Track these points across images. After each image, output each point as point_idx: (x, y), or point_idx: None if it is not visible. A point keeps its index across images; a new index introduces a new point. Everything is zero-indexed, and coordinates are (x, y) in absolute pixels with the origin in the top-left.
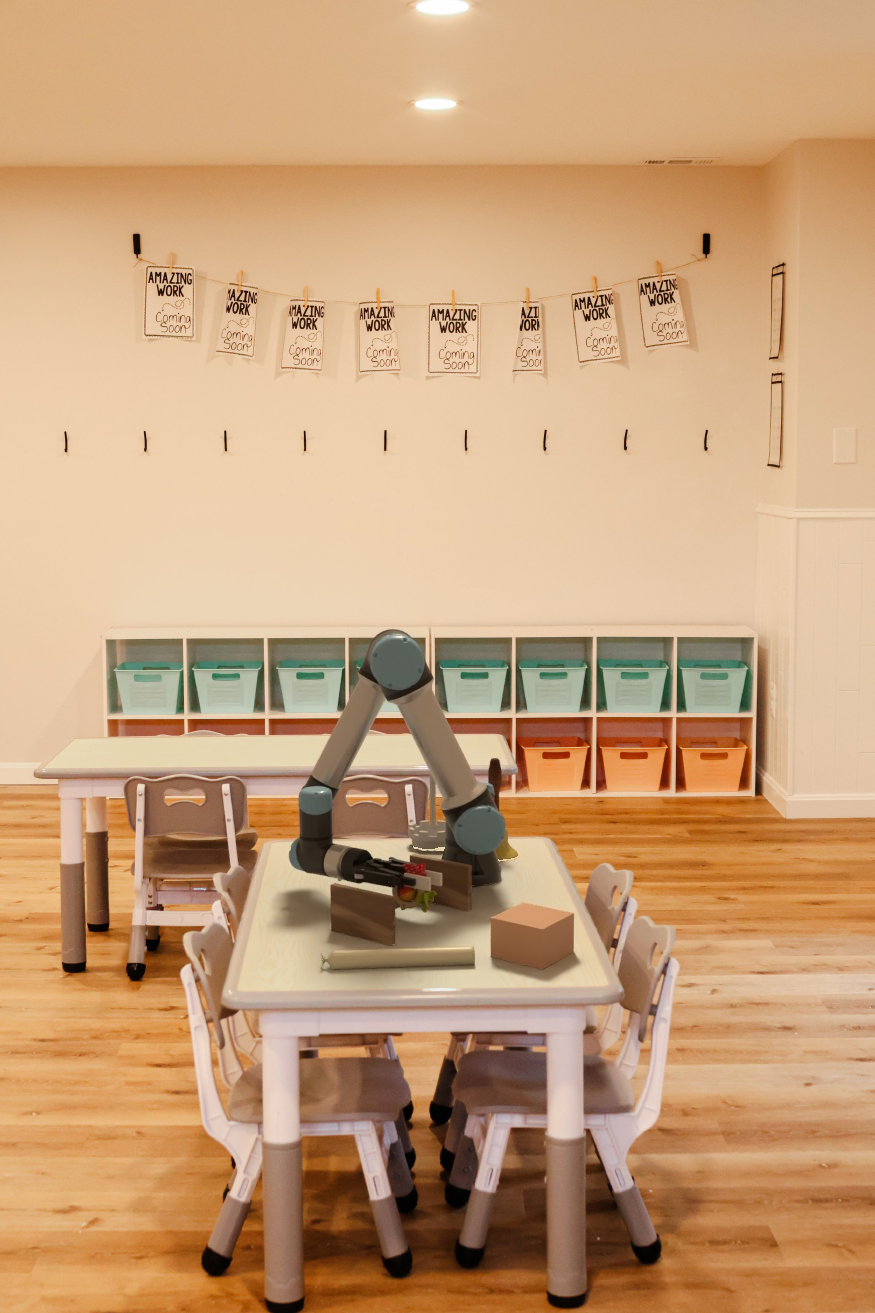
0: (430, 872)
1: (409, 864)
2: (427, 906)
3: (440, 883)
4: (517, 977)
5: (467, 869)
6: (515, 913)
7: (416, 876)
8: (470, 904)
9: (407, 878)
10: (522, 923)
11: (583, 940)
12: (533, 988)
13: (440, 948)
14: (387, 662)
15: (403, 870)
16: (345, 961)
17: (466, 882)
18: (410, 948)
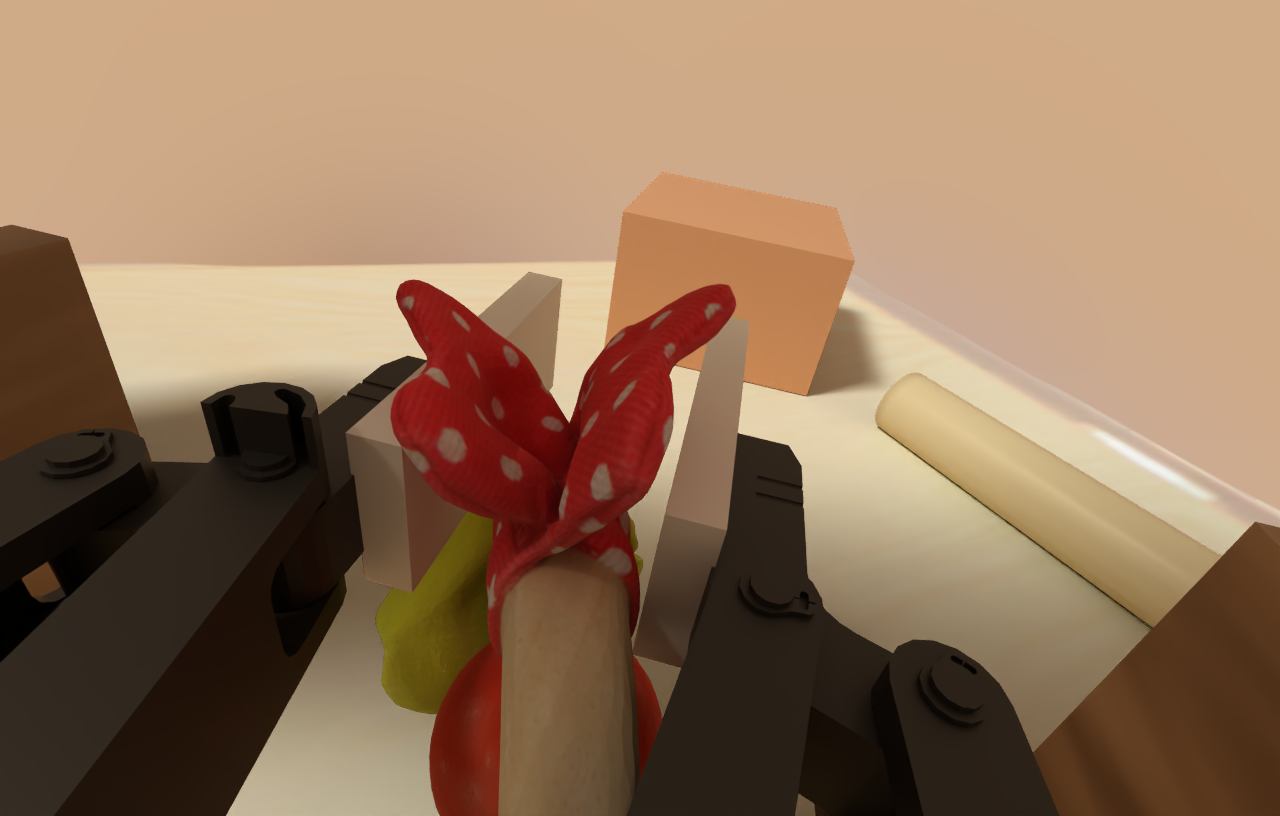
0: (518, 328)
1: (677, 347)
2: (642, 562)
3: (552, 361)
4: (888, 346)
5: (73, 263)
6: (756, 226)
7: (739, 399)
8: None
9: (780, 502)
10: (831, 223)
11: (545, 269)
12: (916, 326)
13: (1035, 443)
14: None
15: (161, 759)
16: None
17: (104, 376)
18: (1173, 534)
